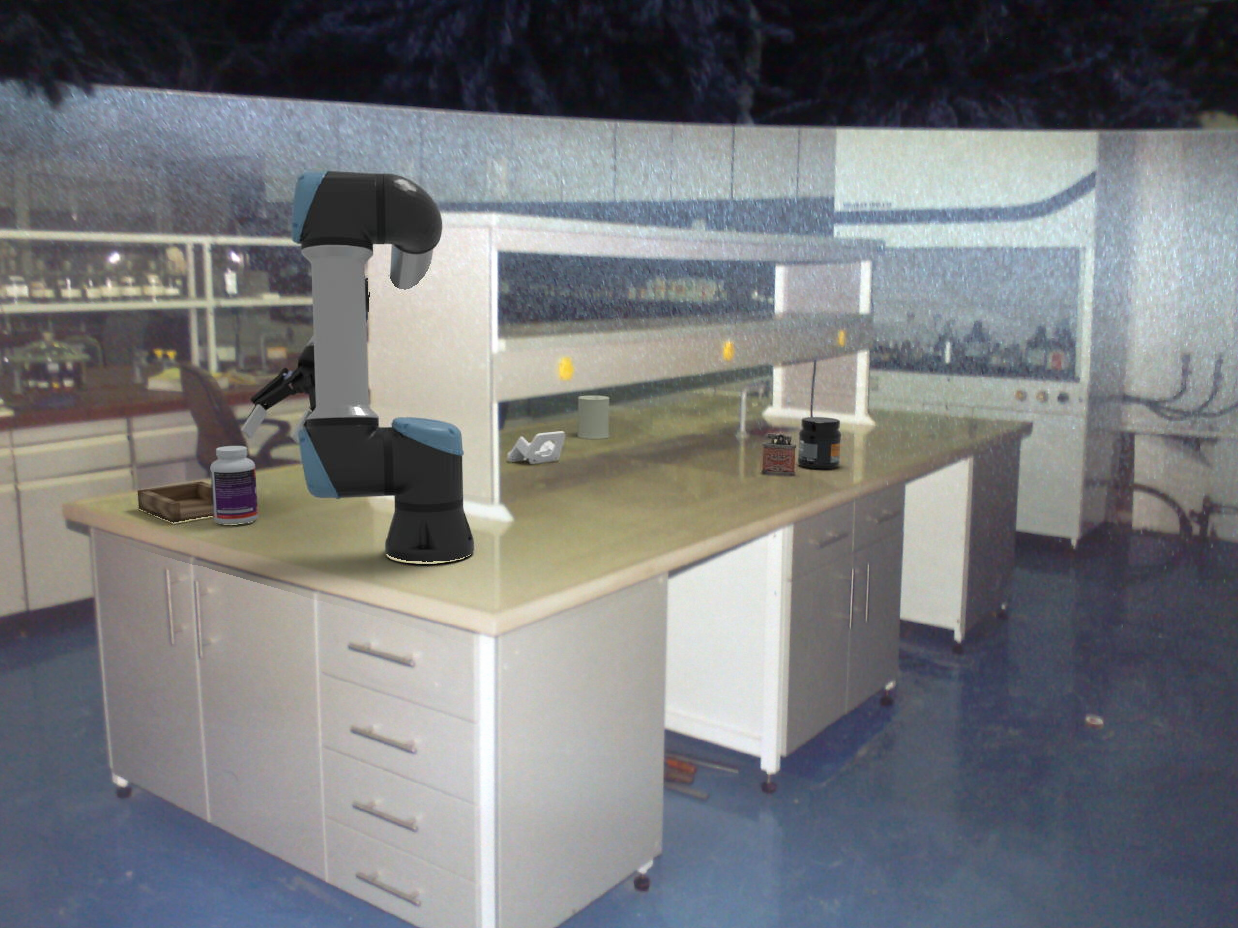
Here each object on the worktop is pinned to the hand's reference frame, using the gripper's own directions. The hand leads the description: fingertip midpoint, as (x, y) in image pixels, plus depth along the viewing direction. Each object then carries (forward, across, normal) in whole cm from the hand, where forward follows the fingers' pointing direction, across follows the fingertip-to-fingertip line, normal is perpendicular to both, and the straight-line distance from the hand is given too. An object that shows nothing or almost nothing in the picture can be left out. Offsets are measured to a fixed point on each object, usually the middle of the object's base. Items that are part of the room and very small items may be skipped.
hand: (270, 437), depth 205 cm
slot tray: (+17, +14, -4) cm, 22 cm away
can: (-70, -6, -92) cm, 116 cm away
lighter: (-54, -72, -76) cm, 118 cm away
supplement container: (-65, -77, -87) cm, 133 cm away
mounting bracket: (-40, -14, -62) cm, 76 cm away
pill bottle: (+18, 0, -4) cm, 18 cm away
